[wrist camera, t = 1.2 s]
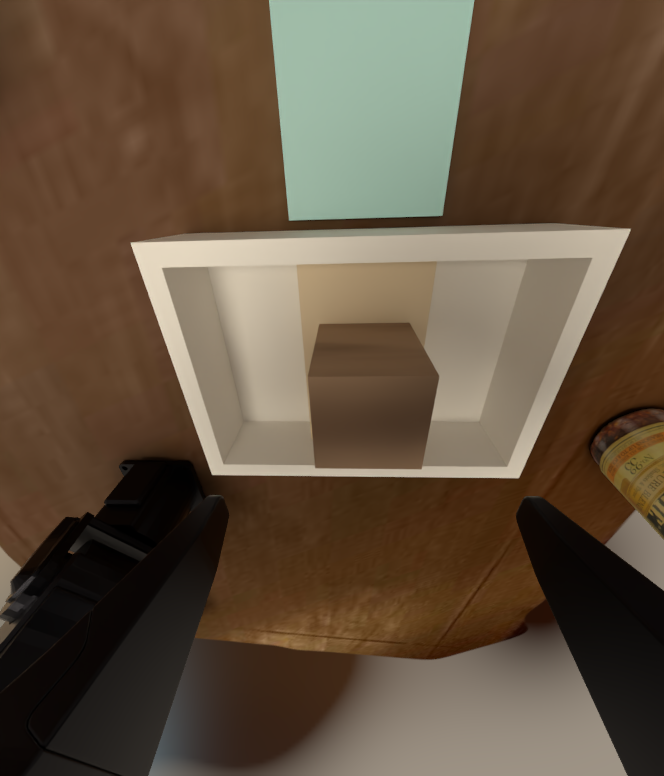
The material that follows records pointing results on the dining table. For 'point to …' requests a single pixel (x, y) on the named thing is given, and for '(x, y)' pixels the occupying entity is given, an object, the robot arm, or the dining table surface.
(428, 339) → the crate
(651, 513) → the sauce bottle
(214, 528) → the robot arm
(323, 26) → the teal pad
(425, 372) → the walnut block
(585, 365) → the dining table surface
